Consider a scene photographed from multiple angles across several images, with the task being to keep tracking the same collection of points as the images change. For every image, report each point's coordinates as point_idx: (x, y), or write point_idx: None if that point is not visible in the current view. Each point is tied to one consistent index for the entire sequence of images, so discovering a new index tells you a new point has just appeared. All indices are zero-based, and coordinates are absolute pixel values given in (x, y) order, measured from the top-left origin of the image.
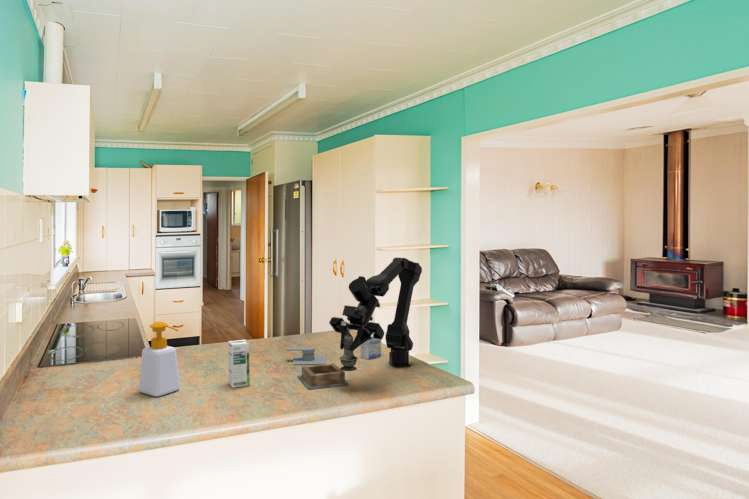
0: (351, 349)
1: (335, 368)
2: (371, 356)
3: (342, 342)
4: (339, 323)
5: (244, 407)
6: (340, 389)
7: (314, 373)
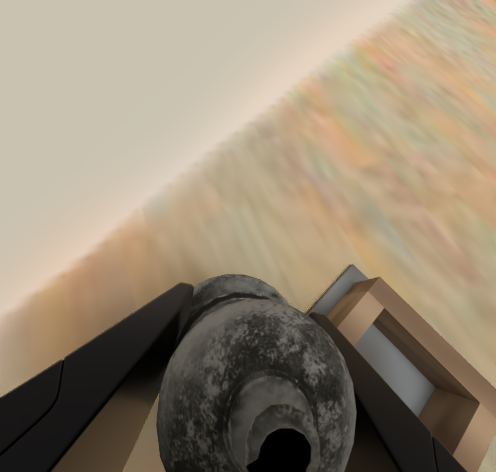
0: (178, 284)
1: None
2: None
3: None
4: None
5: (401, 104)
6: None
7: (431, 419)
